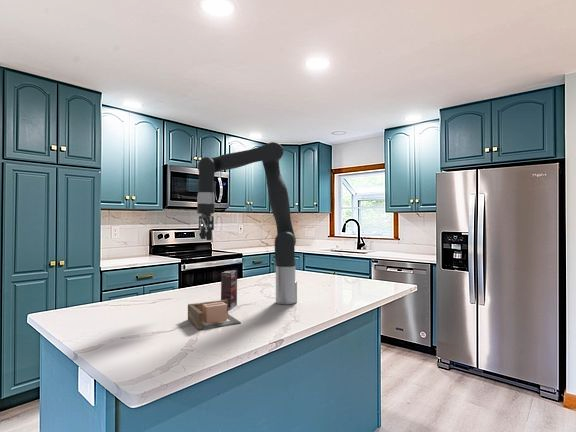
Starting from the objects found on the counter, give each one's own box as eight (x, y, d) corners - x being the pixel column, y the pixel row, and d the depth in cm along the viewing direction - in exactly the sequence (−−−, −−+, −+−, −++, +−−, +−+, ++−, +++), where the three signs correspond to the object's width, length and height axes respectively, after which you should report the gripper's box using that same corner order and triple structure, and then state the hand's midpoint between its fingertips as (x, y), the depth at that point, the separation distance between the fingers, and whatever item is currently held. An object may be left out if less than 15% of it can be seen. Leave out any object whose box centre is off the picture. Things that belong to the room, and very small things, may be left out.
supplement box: (230, 310, 154) (230, 273, 154) (220, 309, 155) (220, 272, 155) (237, 305, 163) (237, 270, 163) (227, 304, 164) (227, 269, 164)
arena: (226, 314, 148) (226, 299, 148) (240, 323, 135) (240, 307, 135) (187, 319, 140) (187, 304, 140) (198, 330, 127) (198, 313, 127)
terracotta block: (202, 320, 137) (202, 304, 137) (222, 317, 141) (222, 301, 141) (206, 323, 132) (206, 306, 132) (227, 320, 136) (227, 304, 136)
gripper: (193, 203, 163) (193, 238, 163) (202, 202, 151) (202, 240, 151) (209, 203, 167) (209, 238, 167) (219, 202, 154) (219, 240, 155)
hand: (206, 239), depth 159 cm, fingers open, 8 cm apart
